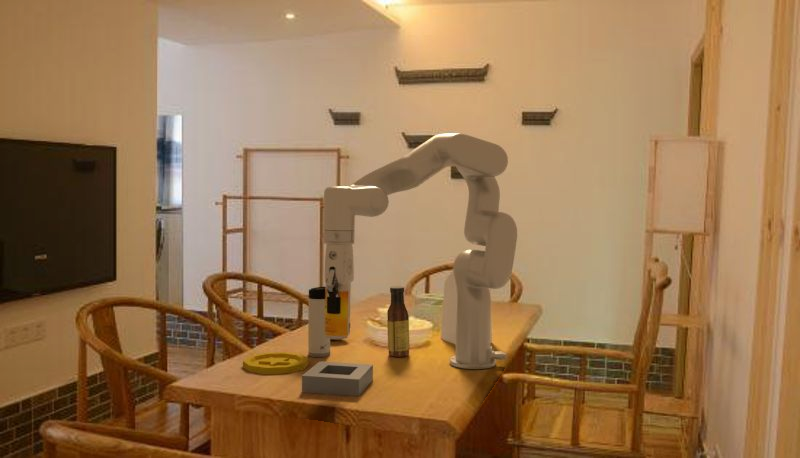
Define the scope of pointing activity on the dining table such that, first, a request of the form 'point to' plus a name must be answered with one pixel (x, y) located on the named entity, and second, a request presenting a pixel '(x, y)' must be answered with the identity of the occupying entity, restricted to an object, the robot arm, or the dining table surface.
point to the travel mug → (317, 324)
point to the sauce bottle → (398, 324)
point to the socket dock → (337, 378)
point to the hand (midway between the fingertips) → (337, 310)
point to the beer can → (339, 315)
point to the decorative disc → (275, 362)
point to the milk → (451, 311)
